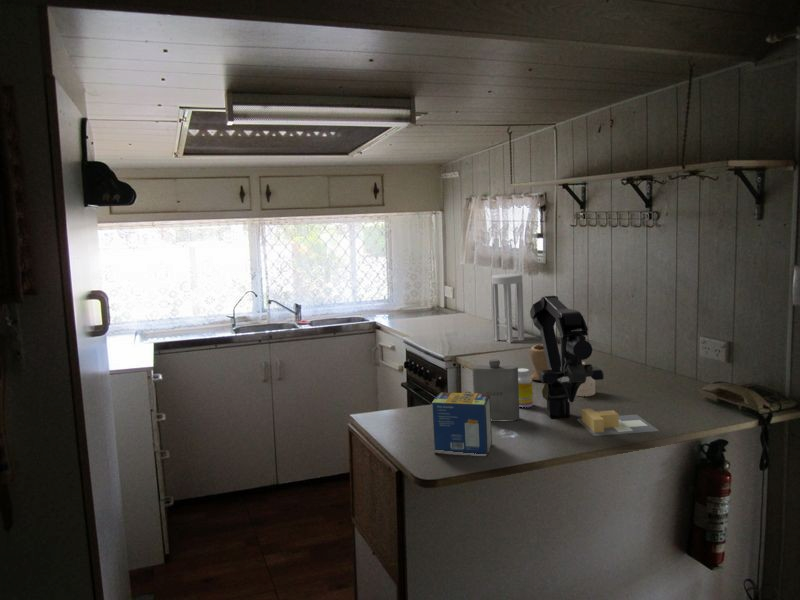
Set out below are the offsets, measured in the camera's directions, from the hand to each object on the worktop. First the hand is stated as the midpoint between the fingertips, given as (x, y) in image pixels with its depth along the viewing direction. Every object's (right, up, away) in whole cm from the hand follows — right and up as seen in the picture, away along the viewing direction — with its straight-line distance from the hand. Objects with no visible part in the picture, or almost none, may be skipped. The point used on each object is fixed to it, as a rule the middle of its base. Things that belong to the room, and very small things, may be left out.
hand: (571, 402), depth 195 cm
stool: (+5, +10, +141) cm, 142 cm away
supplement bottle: (-10, -6, +27) cm, 30 cm away
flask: (-21, -8, +15) cm, 27 cm away
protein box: (-34, -12, -11) cm, 38 cm away
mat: (+14, -8, +2) cm, 16 cm away
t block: (+10, -8, +1) cm, 13 cm away
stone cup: (+7, -1, +58) cm, 58 cm away
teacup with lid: (+14, -3, +36) cm, 39 cm away
